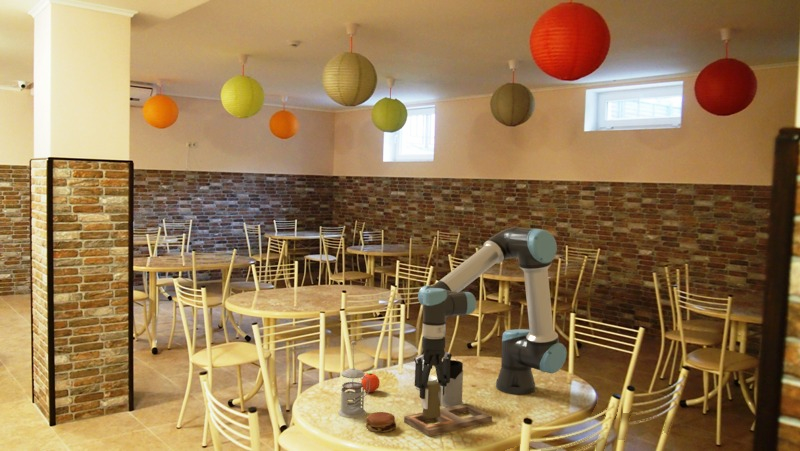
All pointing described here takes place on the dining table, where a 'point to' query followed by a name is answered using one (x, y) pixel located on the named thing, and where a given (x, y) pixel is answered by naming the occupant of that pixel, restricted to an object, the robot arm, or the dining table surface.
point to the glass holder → (453, 385)
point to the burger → (380, 422)
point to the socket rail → (448, 420)
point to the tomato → (373, 382)
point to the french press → (352, 393)
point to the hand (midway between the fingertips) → (431, 406)
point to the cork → (432, 400)
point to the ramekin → (430, 379)
